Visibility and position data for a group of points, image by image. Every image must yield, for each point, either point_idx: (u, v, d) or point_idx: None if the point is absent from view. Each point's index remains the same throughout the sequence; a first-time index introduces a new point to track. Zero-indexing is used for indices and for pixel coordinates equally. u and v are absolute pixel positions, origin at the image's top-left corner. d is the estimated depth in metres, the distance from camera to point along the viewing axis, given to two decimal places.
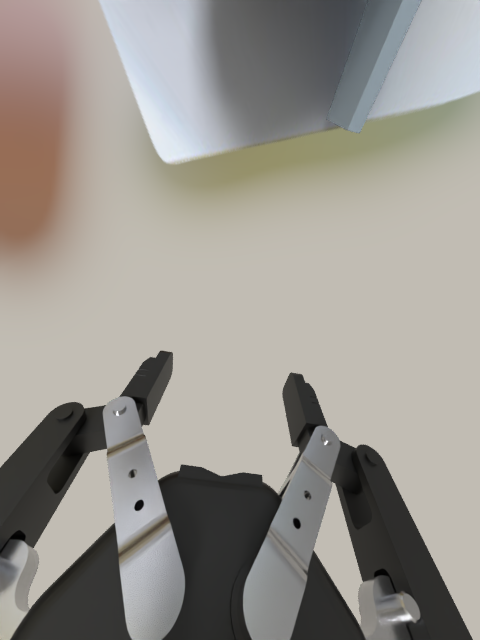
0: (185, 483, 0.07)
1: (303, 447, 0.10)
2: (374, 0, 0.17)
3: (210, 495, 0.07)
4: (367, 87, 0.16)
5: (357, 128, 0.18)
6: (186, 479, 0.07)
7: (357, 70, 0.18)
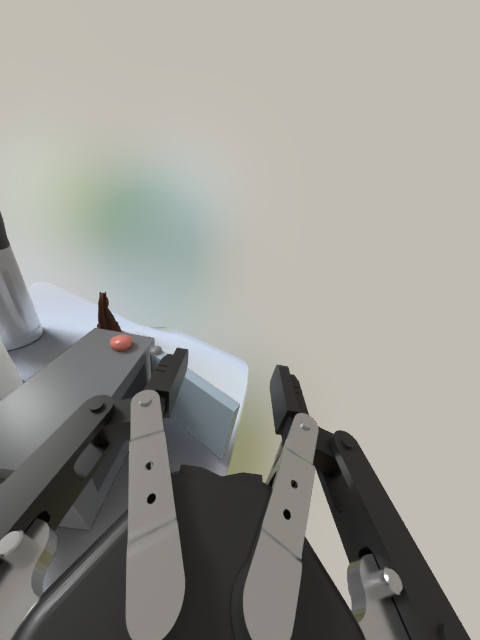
0: (185, 483, 0.07)
1: (285, 434, 0.10)
2: (180, 414, 0.27)
3: (210, 495, 0.07)
4: (215, 397, 0.21)
5: (236, 405, 0.21)
6: (186, 479, 0.07)
7: (204, 417, 0.24)
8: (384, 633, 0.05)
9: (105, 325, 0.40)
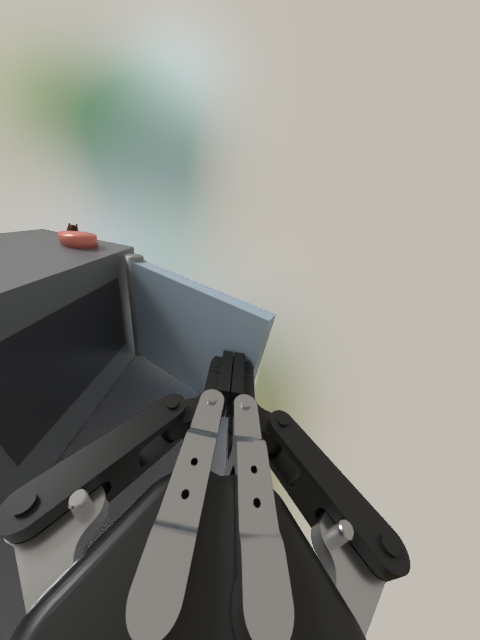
0: None
1: (230, 415, 0.11)
2: (175, 358, 0.18)
3: (210, 495, 0.07)
4: (234, 305, 0.13)
5: (269, 314, 0.12)
6: None
7: (213, 350, 0.15)
8: (351, 578, 0.06)
9: None
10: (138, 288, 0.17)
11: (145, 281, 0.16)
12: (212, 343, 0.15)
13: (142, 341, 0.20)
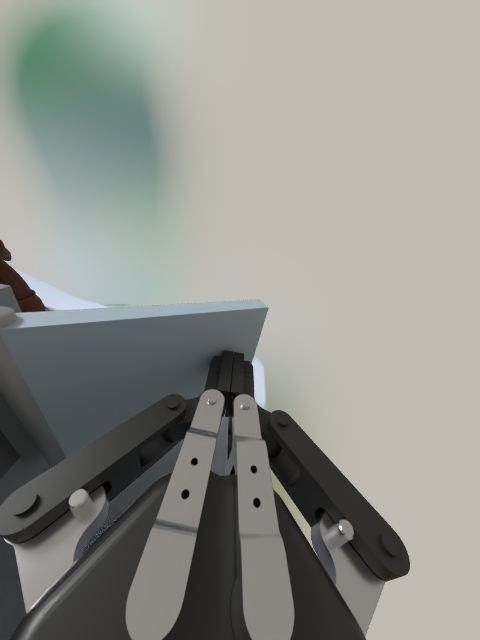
0: None
1: (229, 415, 0.11)
2: None
3: (210, 495, 0.07)
4: (235, 308, 0.12)
5: (259, 302, 0.14)
6: None
7: None
8: (351, 577, 0.06)
9: None
10: (43, 366, 0.09)
11: (65, 346, 0.09)
12: (212, 358, 0.13)
13: (74, 438, 0.11)
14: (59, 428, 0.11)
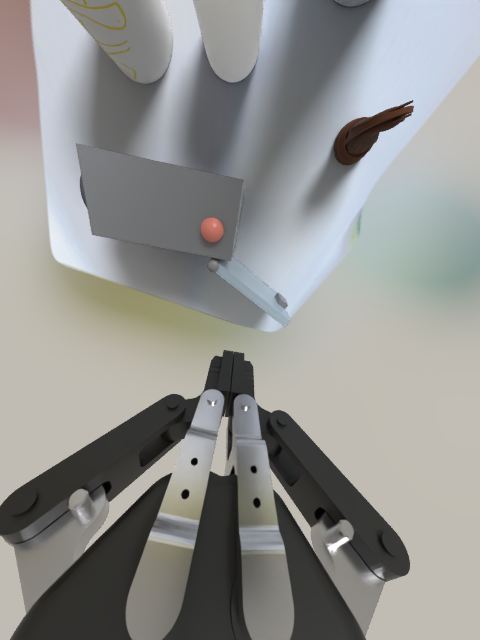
0: None
1: (230, 415, 0.11)
2: None
3: (210, 495, 0.07)
4: (272, 316, 0.27)
5: (287, 322, 0.27)
6: None
7: None
8: (351, 578, 0.06)
9: (346, 140, 0.24)
10: None
11: None
12: None
13: None
14: None
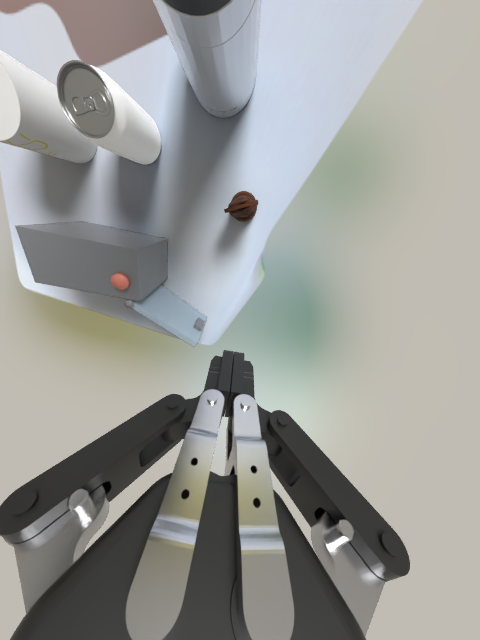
0: None
1: (229, 415, 0.11)
2: None
3: (210, 495, 0.07)
4: (182, 339, 0.35)
5: (195, 343, 0.35)
6: None
7: None
8: (351, 577, 0.06)
9: None
10: None
11: None
12: None
13: None
14: None
